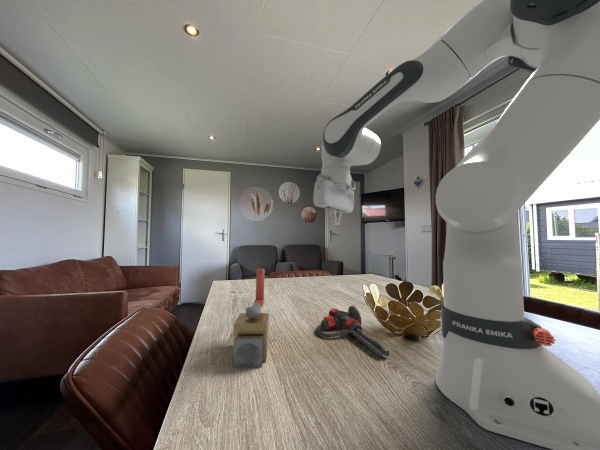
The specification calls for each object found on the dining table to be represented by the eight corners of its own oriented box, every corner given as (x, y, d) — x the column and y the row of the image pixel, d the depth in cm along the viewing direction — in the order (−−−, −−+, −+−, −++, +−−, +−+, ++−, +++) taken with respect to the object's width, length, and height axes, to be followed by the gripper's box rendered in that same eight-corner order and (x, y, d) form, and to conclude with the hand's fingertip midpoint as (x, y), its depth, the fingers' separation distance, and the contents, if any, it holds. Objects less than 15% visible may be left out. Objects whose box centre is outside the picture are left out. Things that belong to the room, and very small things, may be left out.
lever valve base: (265, 367, 46) (266, 324, 47) (230, 367, 46) (232, 325, 46) (268, 342, 57) (269, 308, 58) (240, 343, 57) (241, 308, 57)
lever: (258, 317, 51) (260, 275, 51) (244, 317, 51) (245, 275, 51) (266, 303, 62) (267, 269, 63) (254, 303, 62) (255, 268, 63)
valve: (305, 329, 72) (346, 318, 77) (348, 381, 48) (404, 360, 52) (303, 309, 72) (344, 299, 77) (345, 352, 47) (402, 333, 52)
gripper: (328, 169, 60) (327, 221, 59) (357, 185, 76) (357, 226, 75) (308, 173, 64) (307, 222, 63) (340, 187, 80) (340, 226, 79)
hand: (334, 224), depth 69 cm, fingers closed
